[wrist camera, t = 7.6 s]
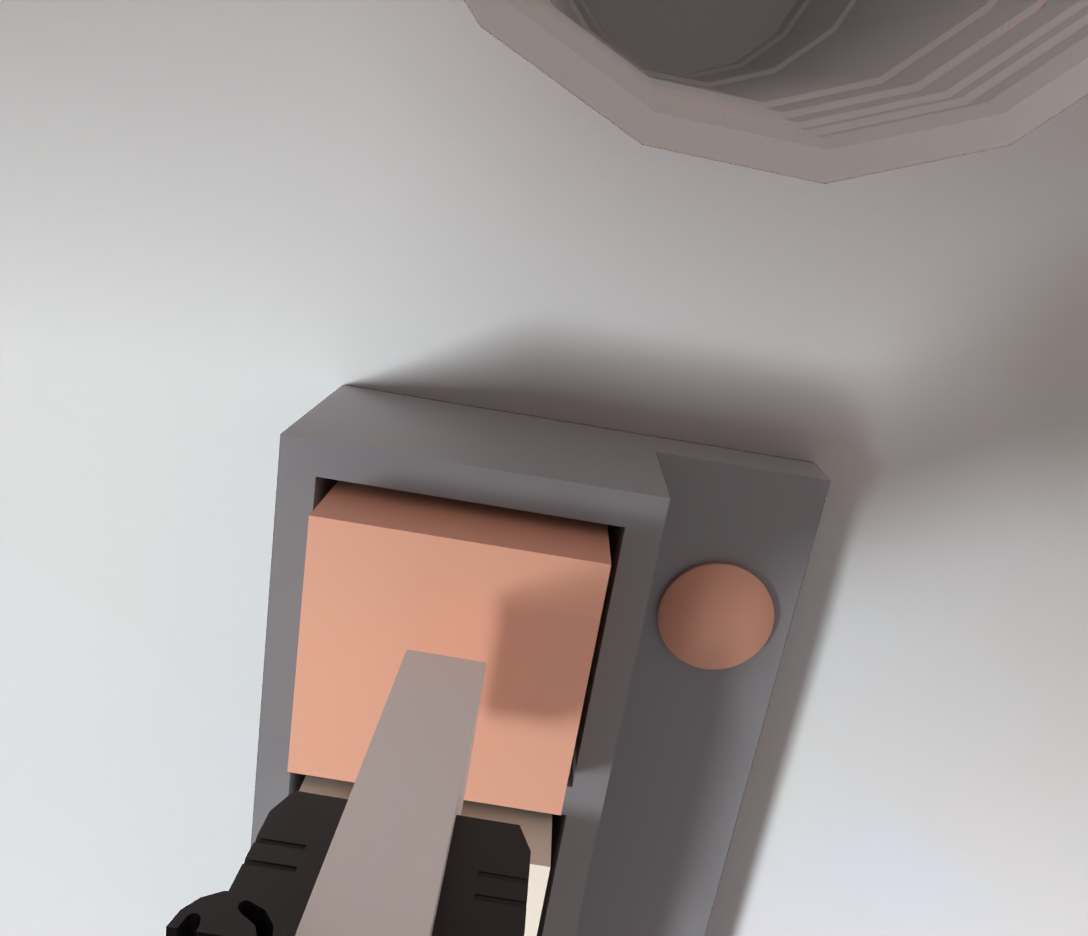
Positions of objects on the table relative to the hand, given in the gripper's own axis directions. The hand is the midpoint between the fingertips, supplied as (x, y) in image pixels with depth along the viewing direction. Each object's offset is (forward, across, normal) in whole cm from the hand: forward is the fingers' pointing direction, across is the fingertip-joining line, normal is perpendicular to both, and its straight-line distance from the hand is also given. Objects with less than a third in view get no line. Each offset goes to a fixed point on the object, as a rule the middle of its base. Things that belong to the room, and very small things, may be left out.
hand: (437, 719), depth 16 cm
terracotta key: (+5, 0, 0) cm, 5 cm away
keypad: (+8, +2, -7) cm, 11 cm away
